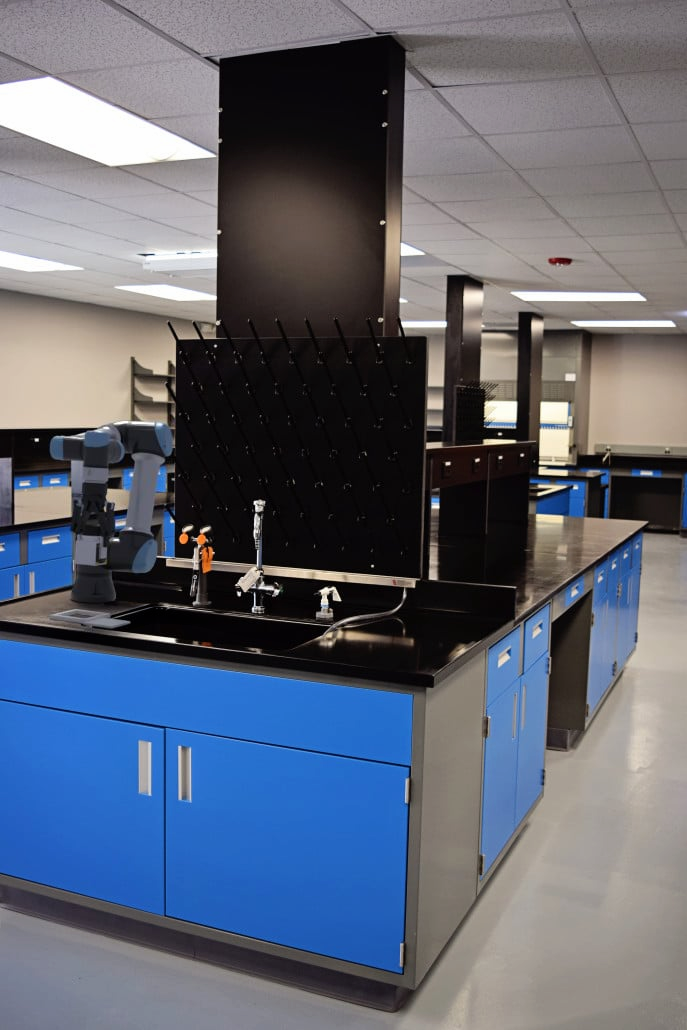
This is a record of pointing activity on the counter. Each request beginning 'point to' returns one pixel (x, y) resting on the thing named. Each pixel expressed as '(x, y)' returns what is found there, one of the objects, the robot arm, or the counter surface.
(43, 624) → the counter surface
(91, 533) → the medicine bottle
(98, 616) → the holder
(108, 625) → the pad
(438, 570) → the counter surface
